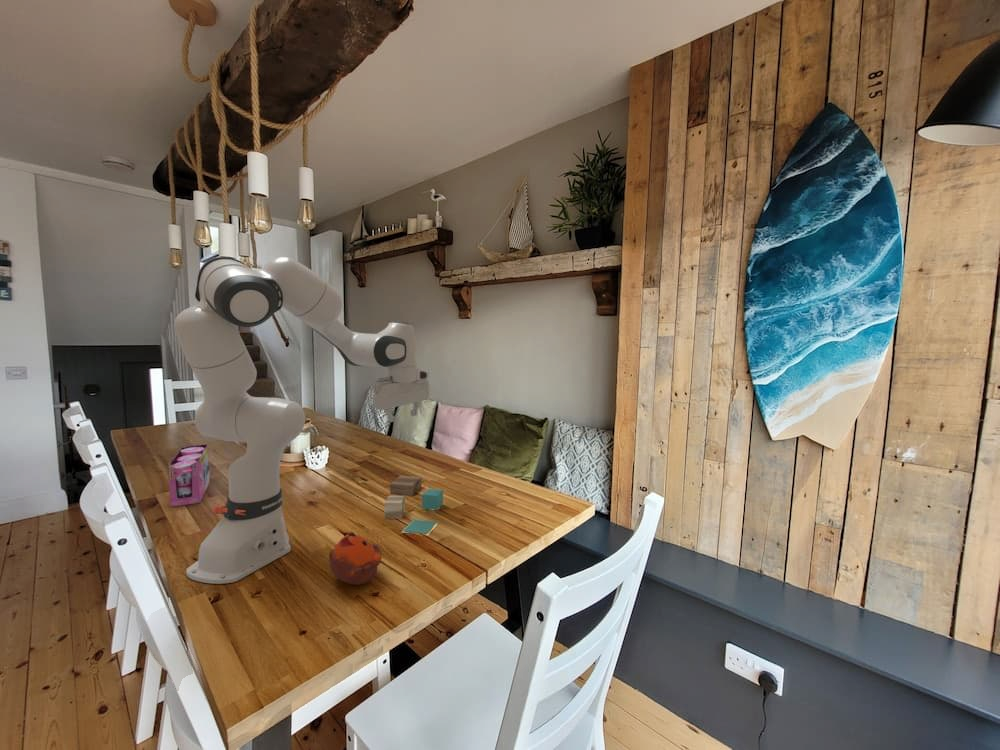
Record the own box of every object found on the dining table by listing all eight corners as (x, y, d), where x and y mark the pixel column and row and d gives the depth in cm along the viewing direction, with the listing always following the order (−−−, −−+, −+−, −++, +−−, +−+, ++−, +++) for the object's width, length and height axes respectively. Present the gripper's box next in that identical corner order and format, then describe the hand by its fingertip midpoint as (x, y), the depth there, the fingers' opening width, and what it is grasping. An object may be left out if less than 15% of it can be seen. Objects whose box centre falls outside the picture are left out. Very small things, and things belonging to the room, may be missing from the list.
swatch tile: (428, 537, 112) (428, 534, 112) (401, 533, 114) (401, 531, 114) (438, 523, 120) (438, 521, 120) (413, 520, 122) (413, 518, 121)
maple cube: (401, 518, 123) (401, 502, 122) (384, 518, 122) (384, 502, 122) (404, 511, 128) (404, 495, 127) (388, 511, 127) (388, 495, 127)
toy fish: (319, 582, 91) (317, 533, 90) (359, 560, 100) (358, 516, 99) (353, 602, 85) (352, 550, 84) (392, 577, 94) (392, 530, 92)
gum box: (200, 504, 130) (197, 463, 128) (168, 509, 126) (165, 466, 124) (210, 479, 151) (208, 443, 149) (184, 483, 147) (181, 446, 145)
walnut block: (412, 497, 139) (412, 485, 138) (390, 494, 140) (390, 483, 140) (421, 488, 147) (421, 477, 146) (400, 486, 148) (400, 475, 148)
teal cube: (437, 511, 128) (437, 496, 127) (422, 509, 129) (422, 494, 128) (442, 504, 133) (442, 490, 132) (428, 503, 134) (428, 488, 133)
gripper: (382, 379, 117) (383, 427, 119) (432, 372, 133) (432, 413, 135) (367, 377, 120) (369, 423, 122) (418, 370, 137) (418, 411, 139)
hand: (402, 418), depth 129 cm, fingers open, 8 cm apart
